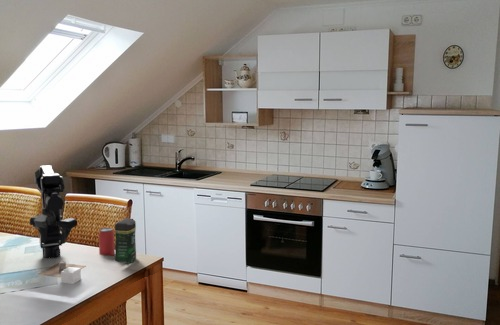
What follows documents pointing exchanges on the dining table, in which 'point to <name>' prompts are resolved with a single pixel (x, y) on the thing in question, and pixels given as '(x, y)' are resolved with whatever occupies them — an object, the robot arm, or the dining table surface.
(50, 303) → the dining table surface
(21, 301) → the dining table surface
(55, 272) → the post base
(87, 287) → the dining table surface
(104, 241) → the beer can
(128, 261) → the coffee jar
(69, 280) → the white block
